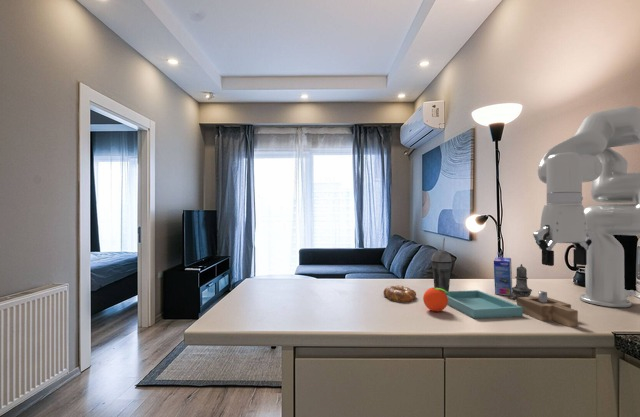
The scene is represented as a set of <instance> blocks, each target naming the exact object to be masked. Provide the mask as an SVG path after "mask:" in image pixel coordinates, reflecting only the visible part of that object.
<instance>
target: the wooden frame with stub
mask: <svg viewBox="0 0 640 417" xmlns="http://www.w3.org/2000/svg"><path fill="white" fill-rule="evenodd" d="M516 297H517V301H516V305H518V306H521V307H523V314H524V315H527V316H528V315H529V317H531V318H534V319H537V320H539V321H541V322H545V321H550V322H551V321H554V322H556V323H559V324H561V325H564V326H566V327H569V328H571V327H572V328H573V327H578V326H579V325H578V324H579V321H578V320H579V319H578V318H579V313H578V312H579V311H578V310H577V309H575V308H572V304H570V303H567V302H565V301H564V302H563V301H561V300H557V299H554V298H551V297H548V296H547V304H542V303H539V295H538V296H529V297H518V296H516Z"/></svg>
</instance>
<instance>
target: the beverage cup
mask: <svg viewBox="0 0 640 417" xmlns="http://www.w3.org/2000/svg"><path fill="white" fill-rule="evenodd" d="M445 241H446V237H443V238H442V249H441V250H440V249H439V250H436V251H435V252H433V254H432V256H431V260H430V262H431V267H432V278H433V288H435V287H436V288H441V289H444V290H445V291H450V285H451V284H450V283H451V270H452V269H451V268H452V265H453V258H452V256H451V255H450V253H449V252H448V251H446V250H445V244H446V243H445ZM445 291H444V292H445Z"/></svg>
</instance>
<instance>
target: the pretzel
mask: <svg viewBox="0 0 640 417" xmlns="http://www.w3.org/2000/svg"><path fill="white" fill-rule="evenodd" d="M383 296H384V298H386V299H388V300H391V301H393V302H399V303H411V302H412V301H415V300H416V298H417V292H416V291H415V290H413V289H411V288H410V287H406V286H403V285H389V286H387V287H385V288H384V290H383Z"/></svg>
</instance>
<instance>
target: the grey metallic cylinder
mask: <svg viewBox="0 0 640 417" xmlns="http://www.w3.org/2000/svg"><path fill="white" fill-rule="evenodd" d="M538 296H539V303H542V304H547V297H548V291H543V290H539V291H538Z"/></svg>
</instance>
